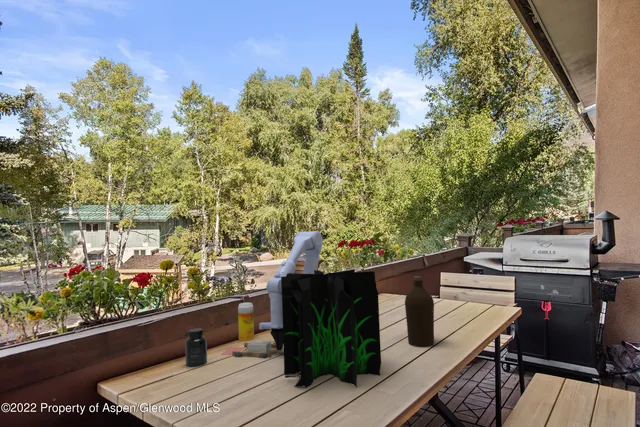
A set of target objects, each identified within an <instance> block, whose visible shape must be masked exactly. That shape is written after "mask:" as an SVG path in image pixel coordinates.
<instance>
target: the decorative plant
mask: <svg viewBox="0 0 640 427" xmlns="http://www.w3.org/2000/svg"><path fill="white" fill-rule="evenodd" d="M375 273H376V272H375V271H374V270H373V271H372V270H371V271H357V272H356V271H355V268H354V269H348V270H343V271H342V270H341V271H337V272H335V271H334V272H328V273H327V272H326V273H325V272H324V271H323V270H322V271H321V270H318V269H317V271H316V270H314V274H303V273H295V272H294V273H288V274H287V275H286V276H284V277H281V289H282V314H283V374H284V375H285V376H284V378H285V379H287V378H297V377H299V380H298V381H297V382H296V383H295V384H294V386H293V387H294V388H296V387H297V388H298V387H304V389H307V388H309V387H311V386H312V385H313V384H314V381H315V380H317V379H319V378H320V377H325V376H333V377H334V378H337V379H338V380H339V381H340V382H341V383H345V384H348V385H349V384H350V385H353V386H354V387H355V388H358V383H357V381H358V380H357V379H358V375H359V376H364V375H373V376H379V377H380V376H381V367H382V352H381V351H382V349H381V329H380V327H381V326H380V306H379V305H380V304H379V302H380V301H379V290H378V288H377V282H376V275H375ZM296 374H298V375H297V376H295V375H296ZM291 375H293V376H291Z"/></svg>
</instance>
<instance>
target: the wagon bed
mask: <svg viewBox="0 0 640 427" xmlns="http://www.w3.org/2000/svg"><path fill="white" fill-rule="evenodd" d="M249 343H250V342H245V343H243V347H245V348H244V349H243V350H241V351H233V352H232V355H231V356H232V357H234V358H242V357H243V358H245V357H246V358H258V359H267V358H268V359H270V358H271V357H273V356H274V355H275V354H276V353H277V352H278V351H277V347H276V344H275V342H271V351H270V352H269V353H267V352H248V347H247V345H248V344H249Z"/></svg>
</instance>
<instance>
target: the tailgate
mask: <svg viewBox="0 0 640 427" xmlns="http://www.w3.org/2000/svg"><path fill="white" fill-rule="evenodd" d="M245 349H246V347H244V346H230V347H229V348H228V349H226V350H225V351H223V352H222V353H220V355H225V356H226V355H227V356H232V352H233V351H241V352H242V351H243V350H245Z"/></svg>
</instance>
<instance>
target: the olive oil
mask: <svg viewBox="0 0 640 427" xmlns="http://www.w3.org/2000/svg"><path fill="white" fill-rule="evenodd" d="M423 281H424V280H423V276H421V275H415V276H413V280H412V282H413V286H412V288H411V289H410V291H408V292H407V294H406V296H405V299H404V307H405V308H404V310H405V319H406V328H407V329H406V330H407V343H408V344H409V345H410V346H413V347H418V348H419V347H420V348H425V347H426V348H428V347H431V346H433V345H434V344H435V328H434V327H435V323H434V322H435V302H434V301H435V300H434V298H433V296H432V294H430V292H429V291H428V290H427V289H426V288H425V287H424V285H423V284H424V282H423Z"/></svg>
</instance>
